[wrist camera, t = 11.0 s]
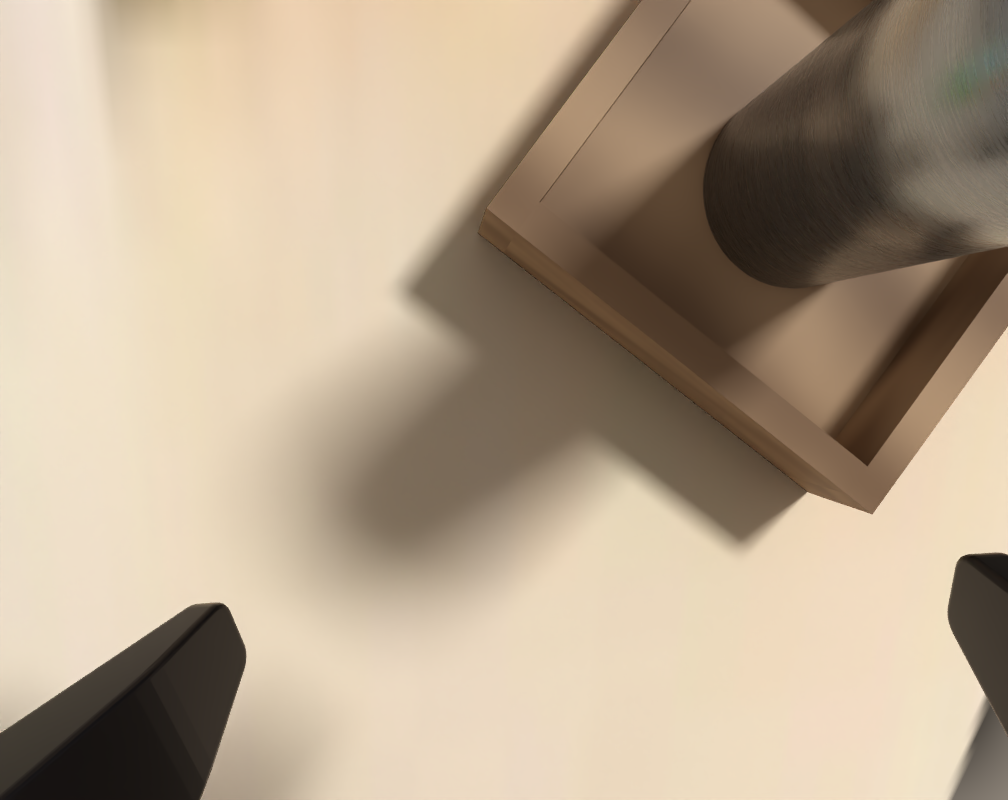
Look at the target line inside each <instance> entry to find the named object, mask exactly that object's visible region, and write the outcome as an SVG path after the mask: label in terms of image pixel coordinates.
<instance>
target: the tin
mask: <svg viewBox="0 0 1008 800" xmlns="http://www.w3.org/2000/svg"><path fill="white" fill-rule="evenodd" d="M703 198H704V207H705V212H706V217H707V220H708V223H709V226H710V229H711V231H712V233H713V235H714V238H715V240H716V241H717V243H718V245H719V246H720V248H721V249H722V251H723V252H724V253H725V255H726V256H727V257H728V258H729V259H730V261H731V262H733V263H734V264H735V265H736V266H737V267H738V268H739V269H740V270H742V271H743V272H745V273H746V274H747V275H749V276H750V277H752V278H754V279H756V280H758V281H760V282H763V283H766V284H769V285H771V286H776V287H781V288H793V289H796V288H807V287H812V286H817V285H822V284H827V283H832V282H837V281H842V280H846V279H851V278H856V277H861V276H866V275H871V274H876V273H881V272H886V271H890V270H895V269H900V268H905V267H910V266H915V265H920V264H925V263H930V262H935V261H939V260H944V259H949V258H954V257H959V256H964V255H969V254H974V253H979V252H983V251H988V250H993V249H998V248H1003V247H1008V0H873V1H872V2H871V3H870V4H868V5H867V6H866V7H865V8H863V9H862V10H861V11H860V12H859V13H857V14H856V15H855V16H854V17H853V18H851V19H850V20H849V21H848V22H847V23H845V24H844V25H843V26H842V27H840V28H839V29H838V30H837V31H836V32H834V33H833V34H832V35H831V36H830V37H828V38H827V39H826V40H825V41H823V42H822V43H821V44H820V45H819V46H817V47H816V48H815V49H814V50H813V51H811V52H810V53H809V54H808V55H807V56H805V57H804V58H803V59H802V60H800V61H799V62H798V63H797V64H796V65H794V66H793V67H792V68H791V69H790V70H788V71H787V72H786V73H785V74H783V75H782V76H781V77H780V78H779V79H777V80H776V81H775V82H774V83H773V84H771V85H770V86H769V87H768V88H767V89H765V90H764V91H763V92H762V93H760V94H759V95H758V96H757V97H756V98H754V99H753V100H752V101H751V102H750V103H748V104H747V105H746V106H745V107H743V108H742V109H741V110H740V111H739V112H738V113H737V114H736V115H734V116H733V117H732V118H731V119H730V120H729V122H728V123H727V124H726V125H725V126H724V128H723V129H722V130H721V132H720V133H719V135H718V137H717V138H716V140H715V142H714V144H713V146H712V149H711V151H710V153H709V157H708V160H707V163H706V168H705V173H704V182H703Z"/></svg>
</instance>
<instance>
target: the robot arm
mask: <svg viewBox="0 0 1008 800" xmlns="http://www.w3.org/2000/svg"><path fill="white" fill-rule="evenodd" d="M948 620H949V624H950V627H951V630H952V632H953V634H954V636H955V638H956V640H957V642H958V644H959V646H960V648H961V649H962V651H963V653H964V655H965V657H966V659H967V661H968V663H969V665H970V666H971V668H972V670H973V672H974V674H975V676H976V678H977V680H978V682H979V684H980V685H981V687H982V689H983V691H984V693H985V695H986V697H987V699H988V701H989V702H990V704H991V706H992V708H993V710H994V712H995V714H996V716H997V718H998V720H999V721H1000V723H1001V725H1002V727H1003V729H1004V731H1005V733H1006V735H1007V737H1008V555H1007V554H1004V553H982V554H968V555H965V556H962V557H961V558H960V559H959V560H958V562H957V564H956V567H955V573H954V578H953V583H952V588H951V594H950V599H949V604H948ZM245 664H246V649H245V645H244V643H243V640H242V638H241V636H240V633H239V631H238V629H237V626H236V624H235V622H234V619H233V617H232V614H231V612H230V610H229V608H228V607H227V606H226V605H224V604H222V603H203V604H195V605H192V606H189V607H188V608H186V609H185V610H183V611H182V612H180V613H179V614H177V615H176V616H174V617H173V618H171V619H170V620H168V621H167V622H165V623H164V624H162V625H161V626H159V627H158V628H156V629H155V630H153V631H152V632H150V633H149V634H147V635H146V636H144V637H143V638H141V639H140V640H138V641H137V642H136V643H134V644H133V645H131V646H130V647H128V648H127V649H125V650H124V651H122V652H121V653H119V654H118V655H116V656H115V657H113V658H112V659H110V660H109V661H107V662H106V663H104V664H103V665H101V666H100V667H98V668H97V669H95V670H94V671H92V672H91V673H89V674H88V675H86V676H85V677H83V678H82V679H80V680H79V681H77V682H76V683H74V684H73V685H71V686H70V687H68V688H67V689H65V690H64V691H62V692H61V693H59V694H58V695H57V696H55V697H54V698H52V699H51V700H49V701H48V702H46V703H45V704H43V705H42V706H40V707H39V708H37V709H36V710H34V711H33V712H31V713H30V714H28V715H27V716H25V717H24V718H22V719H21V720H19V721H18V722H16V723H15V724H13V725H12V726H10V727H9V728H7V729H6V730H4V731H3V732H1V733H0V800H200V799H201V796H202V794H203V791H204V789H205V786H206V783H207V781H208V778H209V775H210V772H211V769H212V767H213V764H214V761H215V758H216V755H217V751H218V748H219V745H220V742H221V739H222V736H223V733H224V730H225V727H226V724H227V721H228V718H229V715H230V712H231V708H232V705H233V702H234V699H235V696H236V693H237V690H238V687H239V684H240V681H241V678H242V675H243V672H244V668H245Z"/></svg>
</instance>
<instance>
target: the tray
mask: <svg viewBox="0 0 1008 800" xmlns="http://www.w3.org/2000/svg"><path fill="white" fill-rule="evenodd" d="M872 1H873V0H642V1H641V2H640V3H639V5H638V6H637V7H636V9H635V10H634V11H633V13H632V14H631V15H630V17H629V18H628V19H627V21H626V22H625V23H624V25H623V26H622V27H621V29H620V30H619V31H618V33H617V34H616V35H615V37H614V38H613V39H612V41H611V42H610V43H609V45H608V46H607V47H606V49H605V50H604V51H603V53H602V54H601V55H600V57H599V58H598V59H597V61H596V62H595V63H594V65H593V66H592V67H591V69H590V70H589V71H588V73H587V74H586V75H585V77H584V78H583V80H582V81H581V82H580V84H579V85H578V86H577V88H576V89H575V90H574V92H573V93H572V94H571V96H570V97H569V98H568V100H567V101H566V102H565V104H564V105H563V106H562V108H561V109H560V110H559V112H558V113H557V114H556V116H555V117H554V118H553V120H552V121H551V122H550V124H549V125H548V126H547V128H546V129H545V130H544V132H543V133H542V134H541V136H540V137H539V138H538V140H537V141H536V142H535V144H534V145H533V146H532V148H531V149H530V150H529V152H528V153H527V154H526V156H525V157H524V158H523V160H522V161H521V162H520V164H519V165H518V166H517V168H516V169H515V170H514V172H513V173H512V174H511V176H510V177H509V178H508V180H507V181H506V182H505V184H504V185H503V186H502V188H501V189H500V190H499V192H498V193H497V194H496V196H495V197H494V198H493V200H492V201H491V202H490V204H489V205H488V206H487V208H486V210H485V213H484V216H483V219H482V222H481V225H480V228H479V231H478V233H479V234H480V235H481V236H482V237H484V238H485V239H486V240H488V241H489V242H490V243H491V244H493V245H494V246H495V247H496V248H498V249H499V250H500V251H502V252H503V253H504V254H505V255H507V256H508V257H509V258H511V259H512V260H513V261H514V262H516V263H517V264H518V265H519V266H521V267H522V268H523V269H525V270H526V271H527V272H528V273H530V274H531V275H532V276H533V277H535V278H536V279H537V280H539V281H540V282H541V283H542V284H544V285H545V286H546V287H547V288H549V289H550V290H551V291H553V292H554V293H555V294H556V295H558V296H559V297H560V298H561V299H563V300H564V301H565V302H567V303H568V304H569V305H570V306H572V307H573V308H574V309H575V310H577V311H578V312H579V313H581V314H582V315H583V316H584V317H586V318H587V319H588V320H589V321H591V322H592V323H593V324H595V325H596V326H597V327H598V328H600V329H601V330H602V331H604V332H605V333H606V334H607V335H609V336H610V337H611V338H612V339H614V340H615V341H616V342H618V343H619V344H620V345H621V346H623V347H624V348H625V349H626V350H628V351H629V352H630V353H632V354H633V355H634V356H635V357H637V358H638V359H639V360H640V361H642V362H643V363H644V364H646V365H647V366H648V367H649V368H651V369H652V370H653V371H654V372H656V373H657V374H658V375H660V376H661V377H662V378H663V379H665V380H666V381H667V382H668V383H670V384H671V385H672V386H674V387H675V388H676V389H677V390H679V391H680V392H681V393H682V394H684V395H685V396H686V397H688V398H689V399H690V400H691V401H693V402H694V403H695V404H697V405H698V406H699V407H700V408H702V409H703V410H704V411H705V412H707V413H708V414H709V415H711V416H712V417H713V418H714V419H716V420H717V421H718V422H719V423H721V424H722V425H723V426H725V427H726V428H727V429H728V430H730V431H731V432H732V433H733V434H735V435H736V436H737V437H739V438H740V439H741V440H742V441H744V442H745V443H746V444H747V445H749V446H750V447H751V448H753V449H754V450H755V451H756V452H758V453H759V454H760V455H761V456H763V457H764V458H765V459H767V460H768V461H769V462H770V463H772V464H773V465H774V466H775V467H777V468H778V469H779V470H781V471H782V472H783V473H784V474H786V475H787V476H788V477H790V478H791V479H792V480H793V481H795V482H796V483H797V484H798V485H800V486H801V487H802V488H804V489H805V490H806V491H807V492H809V493H812V494H815V495H818V496H820V497H823V498H826V499H829V500H832V501H835V502H838V503H841V504H844V505H847V506H850V507H853V508H856V509H858V510H861V511H864V512H867V513H870V514H873V513H874V511H875V510H876V508H877V507H878V506H879V504H880V503H881V502H882V500H883V499H884V497H885V496H886V495H887V493H888V492H889V490H890V489H891V488H892V486H893V485H894V484H895V482H896V481H897V479H898V478H899V477H900V475H901V474H902V472H903V471H904V470H905V468H906V467H907V465H908V464H909V463H910V461H911V460H912V459H913V457H914V456H915V454H916V453H917V452H918V450H919V449H920V447H921V446H922V445H923V443H924V442H925V441H926V439H927V438H928V436H929V435H930V434H931V432H932V431H933V429H934V428H935V427H936V425H937V424H938V422H939V421H940V420H941V418H942V417H943V416H944V414H945V413H946V411H947V410H948V409H949V407H950V406H951V404H952V403H953V402H954V400H955V399H956V398H957V396H958V395H959V393H960V392H961V391H962V389H963V388H964V386H965V385H966V384H967V382H968V381H969V379H970V378H971V377H972V375H973V374H974V373H975V371H976V370H977V368H978V367H979V366H980V364H981V363H982V361H983V360H984V359H985V357H986V356H987V355H988V353H989V352H990V350H991V349H992V348H993V346H994V345H995V343H996V342H997V341H998V339H999V338H1000V336H1001V335H1002V334H1003V332H1004V331H1005V330H1006V328H1007V327H1008V247H1003V248H998V249H993V250H988V251H983V252H979V253H974V254H969V255H964V256H959V257H954V258H949V259H944V260H939V261H935V262H930V263H925V264H920V265H915V266H910V267H905V268H900V269H895V270H890V271H886V272H881V273H876V274H871V275H866V276H861V277H856V278H851V279H846V280H842V281H837V282H832V283H827V284H822V285H817V286H812V287H807V288H796V289H793V288H781V287H776V286H771V285H769V284H766V283H763V282H760V281H758V280H756V279H754V278H752V277H750V276H749V275H747V274H746V273H745V272H743V271H742V270H740V269H739V268H738V267H737V266H736V265H735V264H734V263H733V262H731V261H730V259H729V258H728V257H727V256H726V255H725V253H724V252H723V251H722V249H721V248H720V246H719V245H718V243H717V241H716V240H715V238H714V235H713V233H712V231H711V229H710V226H709V223H708V220H707V217H706V212H705V207H704V198H703V182H704V173H705V168H706V163H707V160H708V157H709V153H710V151H711V149H712V146H713V144H714V142H715V140H716V138H717V137H718V135H719V133H720V132H721V130H722V129H723V128H724V126H725V125H726V124H727V123H728V122H729V120H730V119H731V118H732V117H733V116H734V115H736V114H737V113H738V112H739V111H740V110H741V109H742V108H743V107H745V106H746V105H747V104H748V103H750V102H751V101H752V100H753V99H754V98H756V97H757V96H758V95H759V94H760V93H762V92H763V91H764V90H765V89H767V88H768V87H769V86H770V85H771V84H773V83H774V82H775V81H776V80H777V79H779V78H780V77H781V76H782V75H783V74H785V73H786V72H787V71H788V70H790V69H791V68H792V67H793V66H794V65H796V64H797V63H798V62H799V61H800V60H802V59H803V58H804V57H805V56H807V55H808V54H809V53H810V52H811V51H813V50H814V49H815V48H816V47H817V46H819V45H820V44H821V43H822V42H823V41H825V40H826V39H827V38H828V37H830V36H831V35H832V34H833V33H834V32H836V31H837V30H838V29H839V28H840V27H842V26H843V25H844V24H845V23H847V22H848V21H849V20H850V19H851V18H853V17H854V16H855V15H856V14H857V13H859V12H860V11H861V10H862V9H863V8H865V7H866V6H867V5H868V4H870V3H871V2H872Z"/></svg>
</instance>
